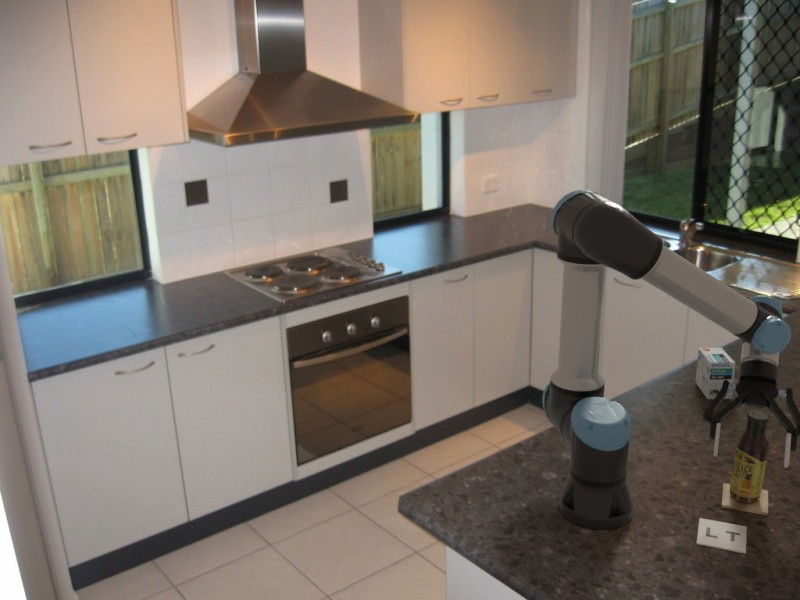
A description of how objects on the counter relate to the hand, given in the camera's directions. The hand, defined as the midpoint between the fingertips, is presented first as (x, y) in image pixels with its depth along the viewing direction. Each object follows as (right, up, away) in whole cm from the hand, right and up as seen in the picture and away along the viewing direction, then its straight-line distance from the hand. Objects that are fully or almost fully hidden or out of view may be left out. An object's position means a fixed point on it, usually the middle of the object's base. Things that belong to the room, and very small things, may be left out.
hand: (750, 460), depth 175 cm
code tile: (-8, -14, -6) cm, 17 cm away
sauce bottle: (+1, -9, +6) cm, 11 cm away
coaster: (+1, -10, +6) cm, 11 cm away
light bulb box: (+13, +8, +55) cm, 57 cm away
